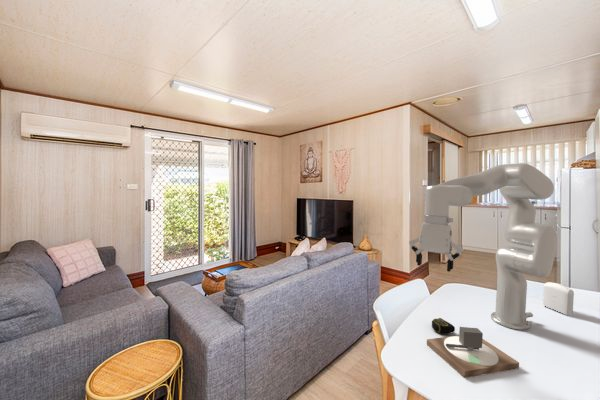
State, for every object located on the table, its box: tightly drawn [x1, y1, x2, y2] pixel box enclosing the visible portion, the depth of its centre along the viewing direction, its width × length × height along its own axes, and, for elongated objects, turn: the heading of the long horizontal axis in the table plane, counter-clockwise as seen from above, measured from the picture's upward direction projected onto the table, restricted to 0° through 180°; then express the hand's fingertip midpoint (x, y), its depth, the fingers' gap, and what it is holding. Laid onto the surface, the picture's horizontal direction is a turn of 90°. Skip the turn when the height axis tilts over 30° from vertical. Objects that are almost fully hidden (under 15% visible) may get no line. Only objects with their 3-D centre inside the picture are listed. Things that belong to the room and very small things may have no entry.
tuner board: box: [426, 334, 520, 379], centre depth 85 cm, size 20×16×2 cm
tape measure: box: [431, 317, 456, 335], centre depth 100 cm, size 7×7×4 cm
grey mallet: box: [446, 326, 484, 351], centre depth 85 cm, size 10×3×6 cm, turn 82°
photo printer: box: [542, 281, 575, 316], centre depth 117 cm, size 10×4×12 cm, turn 13°
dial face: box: [444, 335, 499, 366], centre depth 85 cm, size 15×15×1 cm
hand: (433, 267), depth 92 cm, fingers open, 9 cm apart
